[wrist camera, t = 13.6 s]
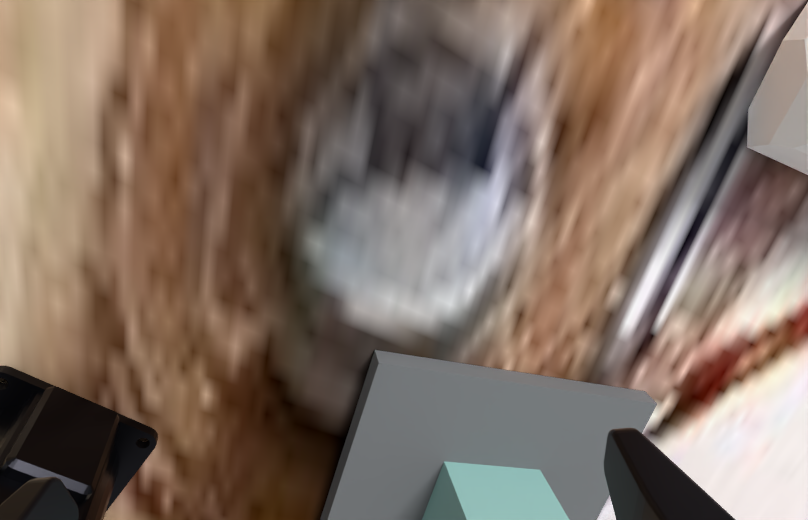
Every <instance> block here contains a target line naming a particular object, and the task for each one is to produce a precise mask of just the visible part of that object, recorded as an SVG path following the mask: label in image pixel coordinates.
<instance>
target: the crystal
mask: <svg viewBox="0 0 808 520" xmlns="http://www.w3.org/2000/svg"><path fill="white" fill-rule="evenodd" d="M747 147H748V148H750V149H752V150H754V151H756V152H758V153H761V154H763V155H765V156H767V157H769V158H772V159H774V160H776V161H778V162H780V163H783V164H785V165H787V166H789V167H791V168H793V169H796V170H798V171H800V172H802V173H804V174H807V175H808V3H807V4H806V6H805V7H804V9H803V10H802V12H801V13H800V15H799V16H798V18H797V19H796V21H795V22H794V24H793V26H792V27H791V29H790V30H789V32H788V33H787V35H786V36H785V38H784V39H783V41H782V43H781V45H780V47H779V49H778V51H777V53H776V55H775V57H774V59H773V61H772V63H771V65H770V67H769V69H768V71H767V73H766V75H765V77H764V79H763V81H762V83H761V85H760V87H759V89H758V91H757V93H756V95H755V97H754V99H753V101H752V103H751V105H750V107H749V109H748V133H747Z"/></svg>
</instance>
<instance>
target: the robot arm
mask: <svg viewBox="0 0 808 520" xmlns="http://www.w3.org/2000/svg"><path fill="white" fill-rule="evenodd" d="M0 378H4V379H5V380H7V382H8V383H1V382H0V520H103V518H104V515H105V512H106V511H107V509H108V508H109V507H110V506H111V504H112V503H113V502H114V500H115V499H116V498H117V496H118V495H119V494H120V493H121V491H122V490H123V489H124V487H125V486H126V485H127V483H128V482H129V481H130V479H131V478H132V477H133V476H134V474H135V473H136V472H137V470H138V469H139V468H140V466H141V465H142V464H143V463H144V461H145V460H146V459H147V457H148V456H149V455H150V453H151V452H152V451H153V450H154V448H155V446H156V444H157V440H158V434H157V432H156V431H155V430H154V429H153V428H151V427H148V426H146V425H144V424H141V423H139V422H137V421H135V420H132V419H130V418H128V417H125V416H123V415H121V414H118V413H116V412H114V411H112V410H110V409H107V408H105V407H103V406H100V405H98V404H96V403H93V402H91V401H89V400H86V399H84V398H82V397H80V396H77V395H75V394H73V393H70V392H68V391H66V390H63V389H61V388H59V387H56V386H53V385H51V384H49V383H46V382H44V381H42V380H39V379H37V378H35V377H32V376H30V375H28V374H26V373H23V372H21V371H19V370H16V369H14V368H12V367H8V366H0ZM140 438H146V439H148V440H149V441H146V442H143V441H141V440H139V439H140ZM604 473H605V478H606V482H607V486H608V489H609V493H610V497H611V501H612V504H613V508H614V512H615V516H616V520H735V519H734V518H733V517H732V516H731V515H730V514H729V513H728V512H727V511H725V510H724V509H723V508H722V507H721V506H720V505H719V504H718V503H717V502H716V501H715V500H714V499H712V498H711V497H710V496H709V495H708V494H707V493H706V492H705V491H704V490H703V489H702V488H700V487H699V486H698V485H697V484H696V483H695V482H694V481H693V480H692V479H691V478H690V477H689V476H687V475H686V474H685V473H684V472H683V471H682V470H681V469H680V468H679V467H678V466H677V465H676V464H674V463H673V462H672V461H671V460H670V459H669V458H668V457H667V456H666V455H665V454H664V453H663V452H661V451H660V450H659V449H658V448H657V447H656V446H655V445H654V444H653V443H652V442H651V441H650V440H648V439H647V438H646V437H645V436H644V435H643V434H642V433H641V432H640V431H639V430H637V429H635V428H619V429H612V430H610V431H609V433H608V436H607V442H606V449H605V456H604Z"/></svg>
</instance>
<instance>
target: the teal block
mask: <svg viewBox="0 0 808 520" xmlns="http://www.w3.org/2000/svg"><path fill="white" fill-rule="evenodd" d="M422 520H569V518H568V516H567V515H566V513H565V511H564V510H563V508H562V506H561V505H560V503H559V501H558V499H557V498H556V496H555V494H554V493H553V491H552V489H551V487H550V486H549V484H548V482H547V481H546V479H545V477H544V476H543V474H542V472H541V470H537V469H526V468H514V467H503V466H491V465H480V464H468V463H457V462H445V461H444V463H443V466H442V468H441V471H440V474H439V476H438V479H437V481H436V484H435V487H434V489H433V492H432V495H431V497H430V500H429V502H428V505H427V508H426V510H425V513H424V516H423V518H422Z"/></svg>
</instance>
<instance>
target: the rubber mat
mask: <svg viewBox="0 0 808 520" xmlns="http://www.w3.org/2000/svg"><path fill="white" fill-rule="evenodd" d="M656 405H657V403H656V402H655V401H654V400H653V399H652V398H651V397H650V396H649V395H648V394H647V393H646V392H645V391H639V390H632V389H626V388H619V387H613V386H606V385H600V384H593V383H587V382H580V381H574V380H567V379H561V378H554V377H548V376H541V375H535V374H528V373H522V372H515V371H509V370H502V369H496V368H489V367H483V366H476V365H470V364H463V363H457V362H450V361H444V360H437V359H431V358H424V357H418V356H411V355H405V354H398V353H392V352H385V351H379V350H375V351H374V354H373V357H372V360H371V363H370V366H369V369H368V372H367V376H366V379H365V382H364V385H363V388H362V391H361V394H360V397H359V400H358V404H357V407H356V410H355V413H354V416H353V419H352V422H351V425H350V428H349V431H348V435H347V438H346V441H345V444H344V447H343V450H342V453H341V456H340V459H339V462H338V466H337V469H336V472H335V475H334V478H333V481H332V484H331V487H330V490H329V494H328V497H327V500H326V503H325V506H324V509H323V512H322V515H321V518H320V520H422V518H423V516H424V513H425V510H426V508H427V505H428V502H429V500H430V497H431V495H432V492H433V489H434V487H435V484H436V481H437V479H438V476H439V474H440V471H441V468H442V466H443V463H444V461H445V462H457V463H468V464H480V465H491V466H503V467H514V468H526V469H537V470H541V472H542V474H543V476H544V477H545V479H546V481H547V482H548V484H549V486H550V487H551V489H552V491H553V493H554V494H555V496H556V498H557V499H558V501H559V503H560V505H561V506H562V508H563V510H564V511H565V513H566V515H567V516H568V518H569V520H597V518H598V516H599V514H600V512H601V510H602V508H603V506H604V504H605V502H606V500H607V499H608V497H609V495H610V493H609V489H608V486H607V482H606V478H605V473H604V456H605V449H606V442H607V436H608V433H609V431H610V430H612V429H619V428H635V429H637V430H639V431H640V432H641V433H642V432H643V430H644V428H645V426H646V424H647V422H648V420H649V418H650V416H651V415H652V413H653V411H654V409H655V407H656Z"/></svg>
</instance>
